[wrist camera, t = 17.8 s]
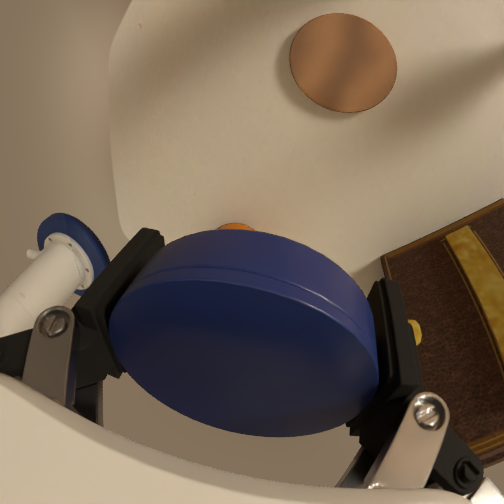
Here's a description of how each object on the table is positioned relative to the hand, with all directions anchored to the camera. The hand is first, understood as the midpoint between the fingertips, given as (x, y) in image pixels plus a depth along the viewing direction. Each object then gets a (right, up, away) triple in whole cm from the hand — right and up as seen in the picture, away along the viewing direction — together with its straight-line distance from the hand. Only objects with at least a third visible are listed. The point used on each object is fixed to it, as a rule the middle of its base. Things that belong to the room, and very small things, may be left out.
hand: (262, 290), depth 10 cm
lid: (-1, -2, -3) cm, 3 cm away
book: (+23, +2, +21) cm, 31 cm away
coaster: (+8, +19, +13) cm, 24 cm away
